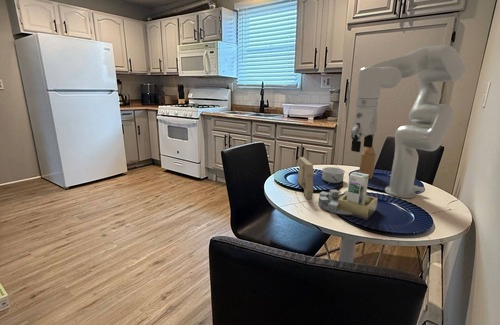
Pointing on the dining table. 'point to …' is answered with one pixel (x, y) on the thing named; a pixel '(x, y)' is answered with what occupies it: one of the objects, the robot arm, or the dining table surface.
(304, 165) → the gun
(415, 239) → the dining table surface
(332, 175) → the saucepan
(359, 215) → the beige and grey tray
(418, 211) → the dining table surface
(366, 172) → the decorative item
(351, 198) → the syrup box
